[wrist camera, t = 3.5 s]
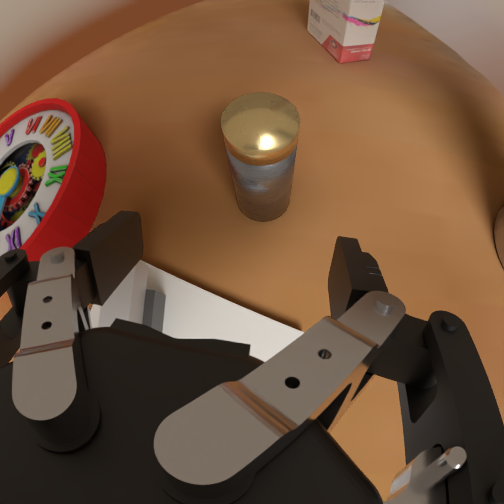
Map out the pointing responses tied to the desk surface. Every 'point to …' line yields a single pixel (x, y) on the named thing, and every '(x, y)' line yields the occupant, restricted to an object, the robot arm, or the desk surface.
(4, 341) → the robot arm
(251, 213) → the gold lidded jar
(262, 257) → the desk surface
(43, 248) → the toy clock
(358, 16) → the ink cartridge box
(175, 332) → the shaft rig
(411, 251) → the desk surface
